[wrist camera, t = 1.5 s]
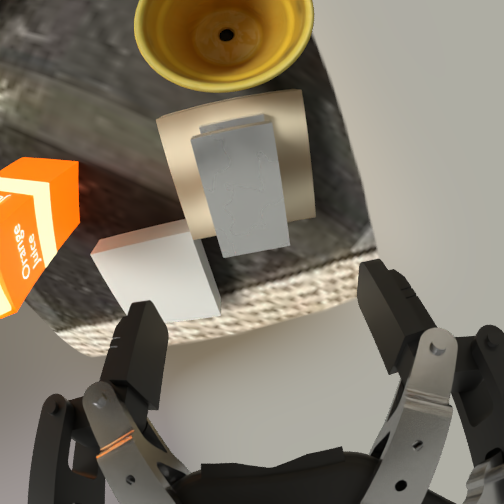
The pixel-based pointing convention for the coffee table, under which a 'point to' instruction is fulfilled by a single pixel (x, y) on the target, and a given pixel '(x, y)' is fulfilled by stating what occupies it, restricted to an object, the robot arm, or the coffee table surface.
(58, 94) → the coffee table surface
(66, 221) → the orange juice
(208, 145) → the block
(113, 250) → the stand
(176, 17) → the plant pot
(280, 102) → the stand
